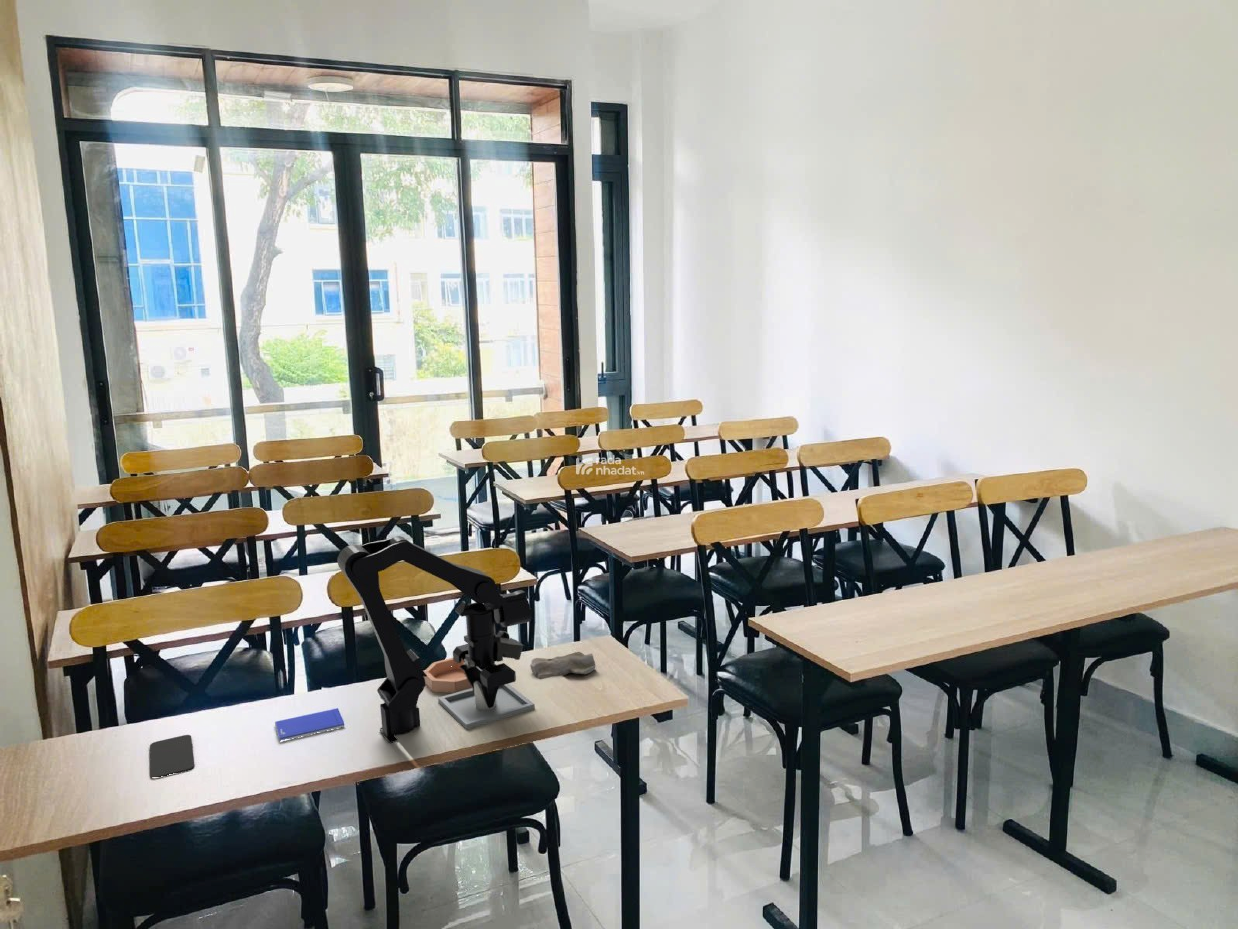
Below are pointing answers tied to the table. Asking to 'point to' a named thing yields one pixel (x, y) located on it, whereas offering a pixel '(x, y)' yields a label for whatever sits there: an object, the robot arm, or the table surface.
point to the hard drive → (309, 724)
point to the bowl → (446, 677)
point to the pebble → (480, 699)
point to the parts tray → (470, 716)
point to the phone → (171, 756)
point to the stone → (563, 665)
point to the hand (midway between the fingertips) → (485, 703)
